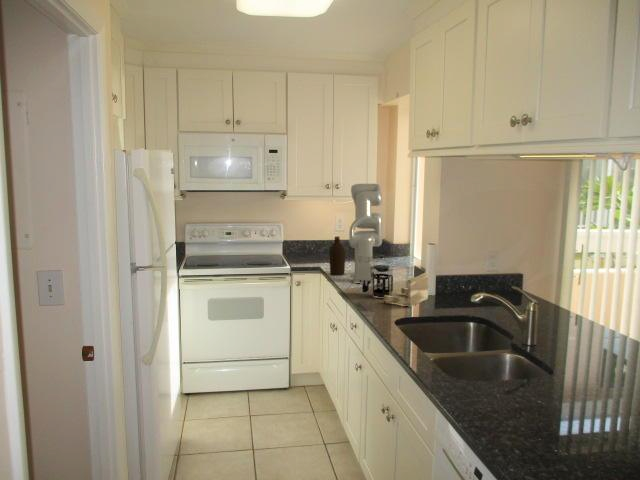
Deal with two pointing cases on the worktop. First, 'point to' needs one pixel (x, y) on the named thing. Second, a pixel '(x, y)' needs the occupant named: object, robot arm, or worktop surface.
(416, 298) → the shelf bay
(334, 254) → the olive oil
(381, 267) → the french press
